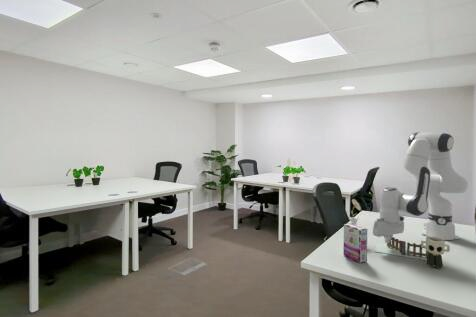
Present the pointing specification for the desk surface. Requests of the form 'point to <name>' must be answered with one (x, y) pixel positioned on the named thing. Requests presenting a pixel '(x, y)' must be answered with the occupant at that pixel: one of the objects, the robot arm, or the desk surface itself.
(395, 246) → the fence gate
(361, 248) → the candy bar box
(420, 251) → the fence panel with post
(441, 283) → the desk surface
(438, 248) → the character mug
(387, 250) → the card
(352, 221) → the flower in vase
